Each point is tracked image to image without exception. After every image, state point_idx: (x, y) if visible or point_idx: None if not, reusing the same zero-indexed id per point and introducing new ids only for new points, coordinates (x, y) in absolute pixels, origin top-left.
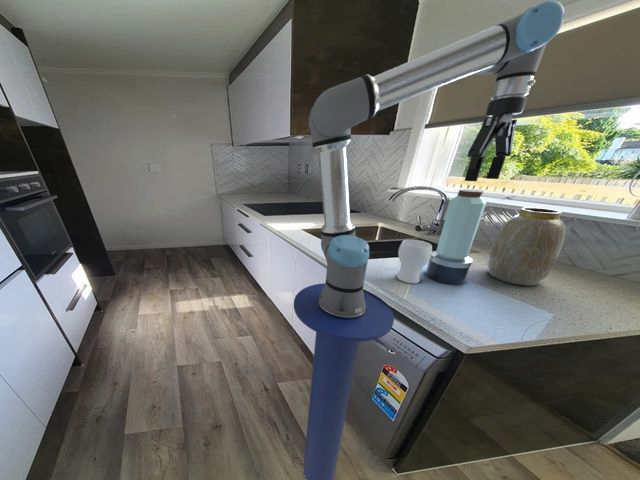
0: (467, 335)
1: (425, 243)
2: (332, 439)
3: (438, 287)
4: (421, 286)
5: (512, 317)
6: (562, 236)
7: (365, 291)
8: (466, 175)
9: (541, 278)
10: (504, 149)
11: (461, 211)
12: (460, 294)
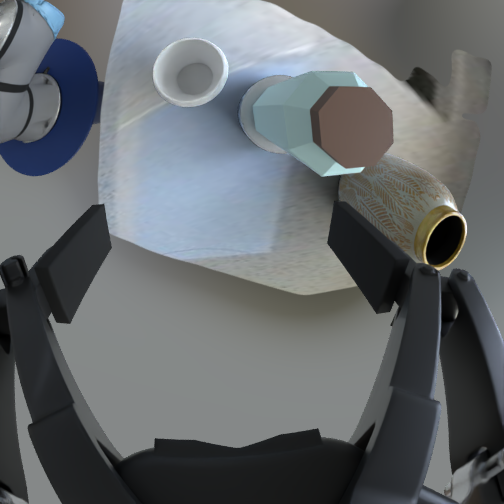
0: (114, 223)
1: (222, 74)
2: None
3: (212, 129)
4: (187, 111)
5: (211, 231)
6: None
7: (92, 81)
8: (82, 217)
9: None
10: (389, 340)
11: (278, 124)
12: (219, 162)
